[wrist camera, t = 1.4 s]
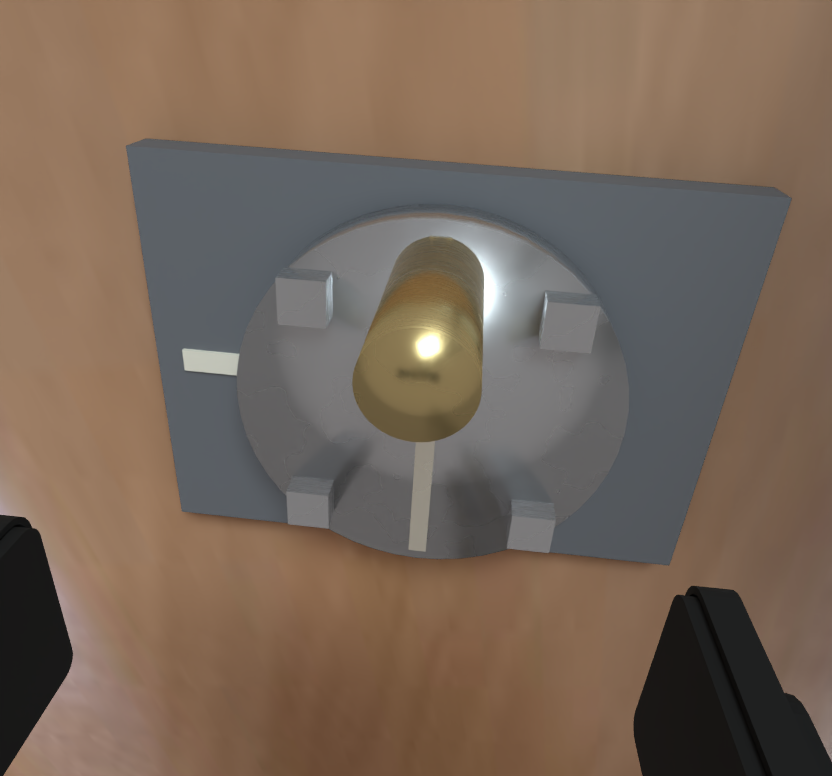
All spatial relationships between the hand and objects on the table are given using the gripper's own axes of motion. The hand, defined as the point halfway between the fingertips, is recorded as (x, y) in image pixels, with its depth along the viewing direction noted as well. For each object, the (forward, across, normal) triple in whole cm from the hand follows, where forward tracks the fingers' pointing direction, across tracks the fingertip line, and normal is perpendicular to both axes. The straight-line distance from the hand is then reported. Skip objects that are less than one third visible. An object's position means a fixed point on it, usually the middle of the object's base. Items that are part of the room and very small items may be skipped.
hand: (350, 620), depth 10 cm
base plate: (+17, -1, +4) cm, 18 cm away
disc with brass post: (+16, -1, +4) cm, 16 cm away
